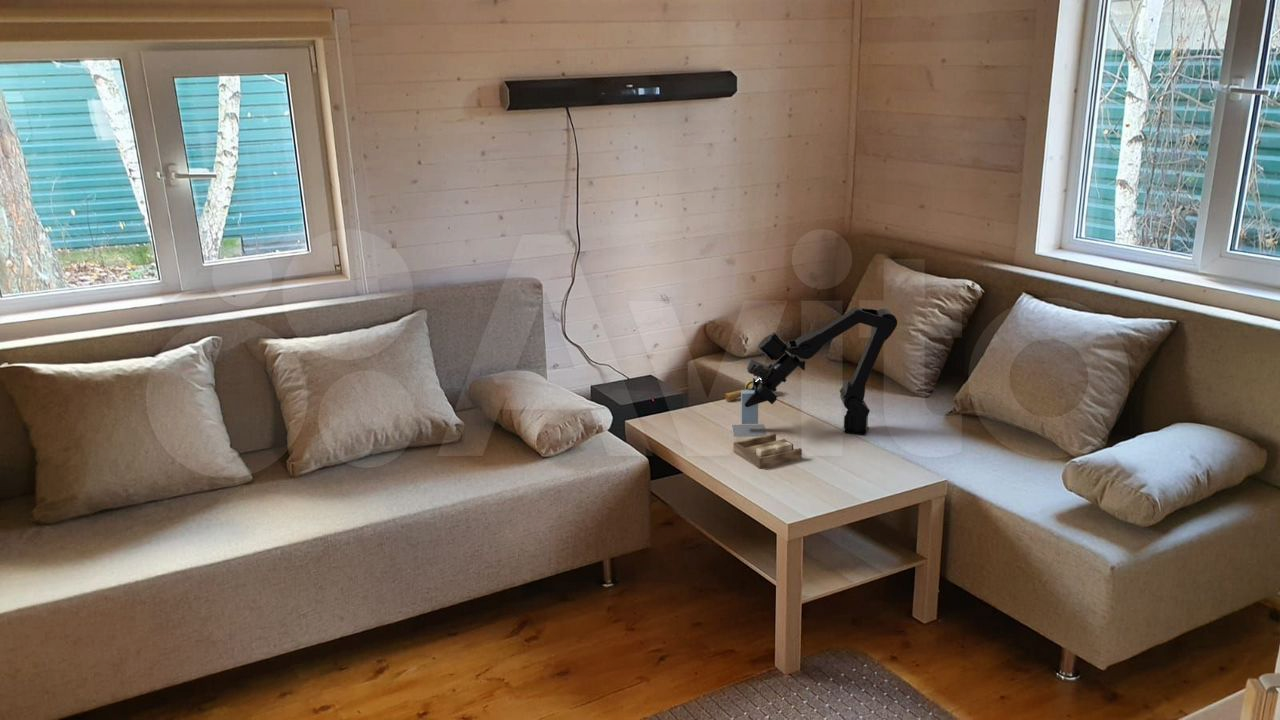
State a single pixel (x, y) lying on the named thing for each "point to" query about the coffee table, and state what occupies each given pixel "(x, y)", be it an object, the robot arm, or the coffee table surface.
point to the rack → (748, 453)
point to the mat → (749, 430)
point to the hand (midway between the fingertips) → (745, 404)
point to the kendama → (738, 392)
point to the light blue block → (748, 409)
